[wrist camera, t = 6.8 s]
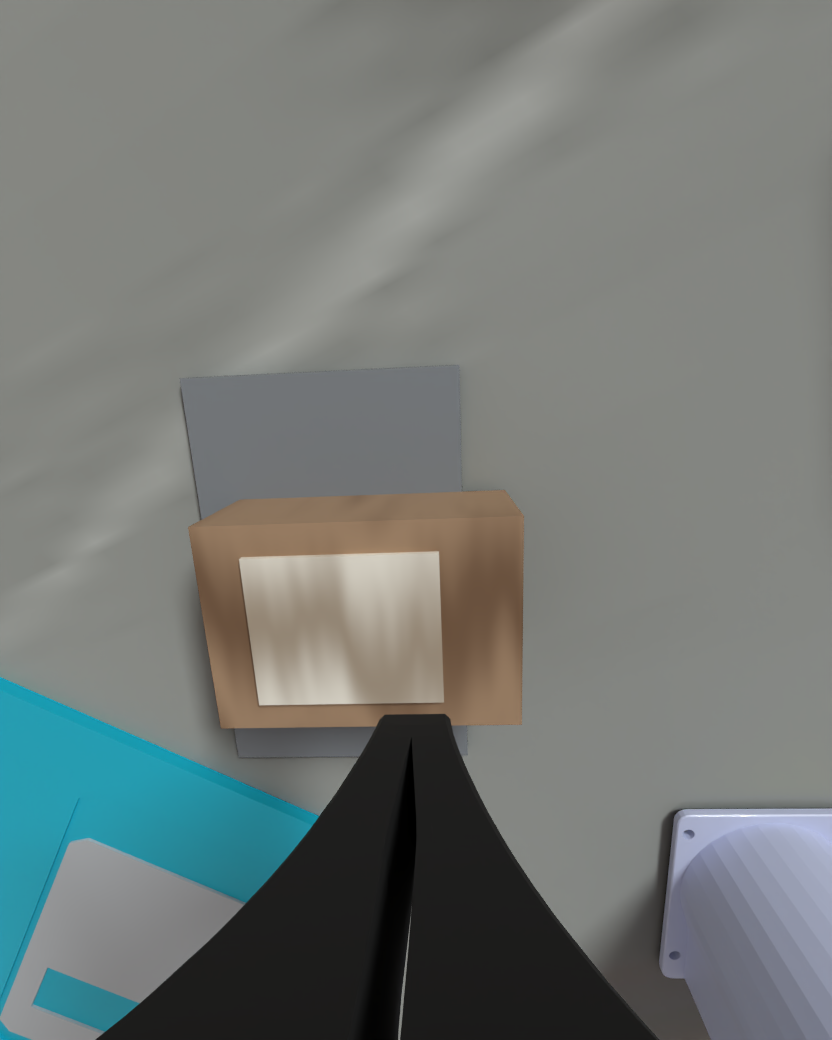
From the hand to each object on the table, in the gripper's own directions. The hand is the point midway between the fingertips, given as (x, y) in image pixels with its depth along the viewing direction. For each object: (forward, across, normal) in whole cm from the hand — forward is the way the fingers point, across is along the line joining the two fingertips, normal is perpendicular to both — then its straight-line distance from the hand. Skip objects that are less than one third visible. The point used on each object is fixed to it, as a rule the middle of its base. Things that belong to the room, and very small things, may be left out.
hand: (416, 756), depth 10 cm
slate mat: (+10, +4, 0) cm, 11 cm away
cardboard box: (+8, -3, 0) cm, 8 cm away
